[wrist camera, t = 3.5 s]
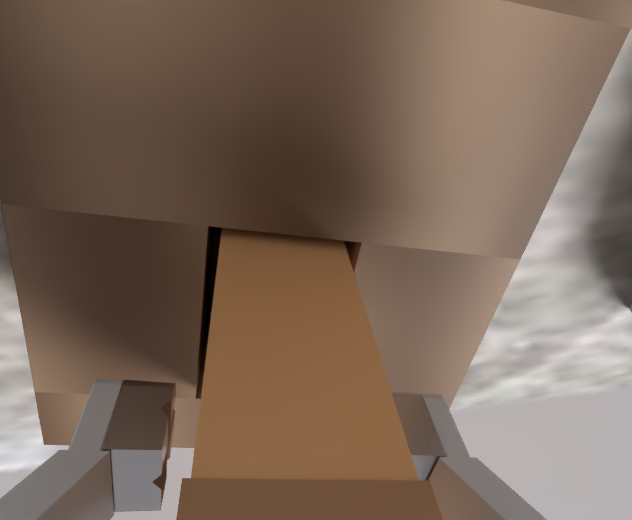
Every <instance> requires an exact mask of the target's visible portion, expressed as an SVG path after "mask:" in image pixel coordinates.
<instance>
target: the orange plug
mask: <svg viewBox="0 0 632 520" xmlns="http://www.w3.org/2000/svg"><path fill="white" fill-rule="evenodd" d="M177 520H443V519H442V516H441V513H440V510H439V507H438V504H437V501H436V498H435V495H434V492H433V489H432V486H431V483H430V481H419V479H418V476H417V472H416V469H415V466H414V463H413V460H412V457H411V453H410V450H409V447H408V444H407V441H406V437H405V434H404V431H403V428H402V425H401V422H400V418H399V415H398V412H397V409H396V406H395V402H394V399H393V396H392V393H391V390H390V387H389V383H388V380H387V377H386V374H385V371H384V367H383V364H382V361H381V358H380V355H379V351H378V348H377V345H376V342H375V339H374V336H373V332H372V329H371V326H370V323H369V320H368V316H367V313H366V310H365V307H364V304H363V301H362V297H361V294H360V291H359V288H358V285H357V281H356V278H355V275H354V272H353V269H352V266H351V262H350V259H349V256H348V253H347V250H346V246H345V243H344V241H343V240H333V239H324V238H315V237H305V236H296V235H286V234H277V233H268V232H258V231H249V230H240V229H230V228H222V231H221V239H220V247H219V255H218V263H217V271H216V279H215V288H214V296H213V304H212V312H211V320H210V328H209V336H208V345H207V353H206V361H205V369H204V377H203V385H202V393H201V402H200V410H199V418H198V426H197V434H196V442H195V450H194V459H193V467H192V475H191V478H183V479H182V484H181V492H180V499H179V505H178V513H177Z"/></svg>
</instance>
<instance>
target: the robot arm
mask: <svg viewBox="0 0 632 520" xmlns="http://www.w3.org/2000/svg"><path fill="white" fill-rule="evenodd" d="M391 393H392V396H393V399H394V402H395V406H396V409H397V412H398V415H399V418H400V422H401V425H402V428H403V431H404V434H405V437H406V441H407V444H408V447H409V450H410V453H411V457H412V460H413V463H414V466H415V469H416V472H417V476H418V479H419V481H430V483H431V486H432V489H433V492H434V495H435V498H436V501H437V504H438V507H439V510H440V513H441V516H442V519H443V520H546V519H545V518H544V517H543V516H542V515H541V514H540V513H539V512H537V511H536V510H535V509H534V508H533V507H532V506H531V505H529V504H528V503H527V502H526V501H525V500H524V499H523V498H521V497H520V496H519V495H518V494H517V493H516V492H515V491H514V490H512V489H511V488H510V487H509V486H508V485H507V484H506V483H505V482H503V481H502V480H501V479H500V478H499V477H498V476H496V474H494V473H493V472H492V471H491V470H490V469H489V468H488V467H486V466H485V465H484V464H483V463H482V462H481V461H480V460H478V459H477V458H471V457H470V456H469V454H468V451H467V449H466V447H465V444H464V442H463V440H462V438H461V435H460V433H459V431H458V429H457V426H456V424H455V422H454V420H453V418H452V415H451V413H450V411H449V408H448V406H447V404H446V401H445V399H444V397H443V396H441V395H440V394H424V393H418V394H417V393H401V392H391ZM175 398H176V383H165V382H151V381H137V380H116V379H101V378H98V379H97V380H96V381H95V383H94V384H93V386H92V388H91V391H90V394H89V396H88V399H87V401H86V404H85V407H84V409H83V412H82V415H81V417H80V420H79V422H78V425H77V428H76V430H75V433H74V436H73V438H72V441H71V443H70V446H69V449H68V450H59V451H58V452H56V453H55V454H54V455H53V456H51V457H50V458H49V459H48V460H47V461H45V462H44V463H43V464H42V465H41V466H39V467H38V468H37V469H36V470H34V471H33V472H32V473H31V474H30V475H28V476H27V477H26V478H25V479H24V480H22V481H21V482H20V483H19V484H17V485H16V486H15V487H14V488H13V489H12V490H10V491H9V492H8V493H7V494H6V495H4V496H3V497H2V498H1V499H0V520H110V519H111V518H112V517H113V515H114V512H122V511H153V510H161V505H162V499H163V494H164V489H165V483H166V474H167V473H166V472H167V460H168V459H169V458H170V453H171V447H172V440H173V432H174V422H175V410H174V403H175Z"/></svg>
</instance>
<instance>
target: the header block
mask: <svg viewBox="0 0 632 520" xmlns="http://www.w3.org/2000/svg"><path fill="white" fill-rule="evenodd" d="M631 27H632V0H0V200H1V206H2V211H3V217H4V222H5V228H6V234H7V239H8V245H9V250H10V256H11V262H12V267H13V273H14V278H15V284H16V290H17V295H18V301H19V307H20V312H21V318H22V323H23V329H24V335H25V340H26V346H27V351H28V357H29V363H30V368H31V374H32V380H33V385H34V391H35V396H36V402H37V408H38V413H39V419H40V424H41V430H42V436H43V441H44V445H70V443H71V441H72V438H73V436H74V433H75V430H76V428H77V425H78V422H79V420H80V417H81V415H82V412H83V409H84V407H85V404H86V401H87V399H88V396H89V394H90V391H91V388H92V386H93V384H94V383H95V381H96V380H97V379H98V378H101V379H116V380H137V381H151V382H165V383H176V398H175V403H174V410H175V422H174V432H173V440H172V447H178V448H195V442H196V434H197V426H198V418H199V410H200V402H201V393H202V385H203V377H204V369H205V361H206V353H207V345H208V336H209V328H210V320H211V312H212V304H213V296H214V288H215V279H216V271H217V263H218V255H219V247H220V239H221V231H222V228H230V229H240V230H249V231H258V232H268V233H277V234H286V235H296V236H305V237H315V238H324V239H333V240H343V241H344V243H345V246H346V250H347V253H348V256H349V259H350V262H351V266H352V269H353V272H354V275H355V278H356V281H357V285H358V288H359V291H360V294H361V297H362V301H363V304H364V307H365V310H366V313H367V316H368V320H369V323H370V326H371V329H372V332H373V336H374V339H375V342H376V345H377V348H378V351H379V355H380V358H381V361H382V364H383V367H384V371H385V374H386V377H387V380H388V383H389V387H390V390H391V392H401V393H417V394H418V393H424V394H440V395H441V396H443V397H444V399H445V401H446V404H447V406H448V408H450V406H451V404H452V401H453V399H454V397H455V395H456V393H457V391H458V389H459V387H460V385H461V383H462V381H463V378H464V376H465V374H466V372H467V370H468V368H469V366H470V364H471V362H472V360H473V357H474V355H475V353H476V351H477V349H478V347H479V345H480V343H481V341H482V339H483V337H484V334H485V332H486V330H487V328H488V326H489V324H490V322H491V320H492V318H493V316H494V314H495V311H496V309H497V307H498V305H499V303H500V301H501V299H502V297H503V295H504V293H505V290H506V288H507V286H508V284H509V282H510V280H511V278H512V276H513V274H514V272H515V270H516V267H517V265H518V263H519V261H520V259H521V257H522V255H523V253H524V251H525V249H526V246H527V244H528V242H529V240H530V238H531V236H532V234H533V232H534V230H535V228H536V226H537V223H538V221H539V219H540V217H541V215H542V213H543V211H544V209H545V207H546V205H547V203H548V200H549V198H550V196H551V194H552V192H553V190H554V188H555V186H556V184H557V182H558V179H559V177H560V175H561V173H562V171H563V169H564V167H565V165H566V163H567V161H568V159H569V156H570V154H571V152H572V150H573V148H574V146H575V144H576V142H577V140H578V138H579V135H580V133H581V131H582V129H583V127H584V125H585V123H586V121H587V119H588V117H589V115H590V112H591V110H592V108H593V106H594V104H595V102H596V100H597V98H598V96H599V94H600V92H601V89H602V87H603V85H604V83H605V81H606V79H607V77H608V75H609V73H610V71H611V68H612V66H613V64H614V62H615V60H616V58H617V56H618V54H619V52H620V50H621V48H622V45H623V43H624V41H625V39H626V37H627V35H628V33H629V31H630V29H631Z"/></svg>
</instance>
